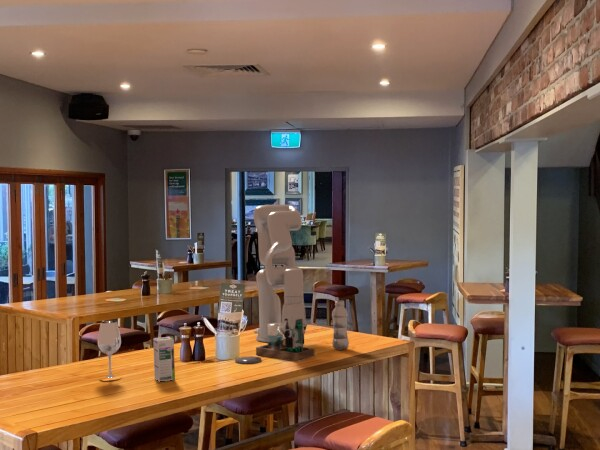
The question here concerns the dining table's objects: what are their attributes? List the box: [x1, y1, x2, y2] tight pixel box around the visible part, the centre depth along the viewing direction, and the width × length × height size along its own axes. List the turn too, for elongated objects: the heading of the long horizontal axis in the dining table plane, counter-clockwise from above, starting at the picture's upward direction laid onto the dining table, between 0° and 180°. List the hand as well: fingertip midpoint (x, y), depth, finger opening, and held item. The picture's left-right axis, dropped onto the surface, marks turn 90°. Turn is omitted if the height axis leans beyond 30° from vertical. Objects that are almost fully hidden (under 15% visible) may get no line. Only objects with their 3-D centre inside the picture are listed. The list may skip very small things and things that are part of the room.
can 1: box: [267, 322, 284, 350], centre depth 271 cm, size 6×6×12 cm
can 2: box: [287, 319, 304, 353], centre depth 265 cm, size 6×6×15 cm
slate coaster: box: [234, 356, 262, 365], centre depth 260 cm, size 10×10×1 cm
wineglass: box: [97, 320, 122, 378], centre depth 237 cm, size 8×8×20 cm
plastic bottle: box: [331, 299, 350, 351], centre depth 277 cm, size 6×7×20 cm
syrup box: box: [152, 336, 176, 383], centre depth 234 cm, size 6×6×14 cm
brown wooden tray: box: [255, 343, 316, 363], centre depth 268 cm, size 21×11×3 cm, turn 52°
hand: (294, 345), depth 265 cm, fingers closed on can 2, 6 cm apart
